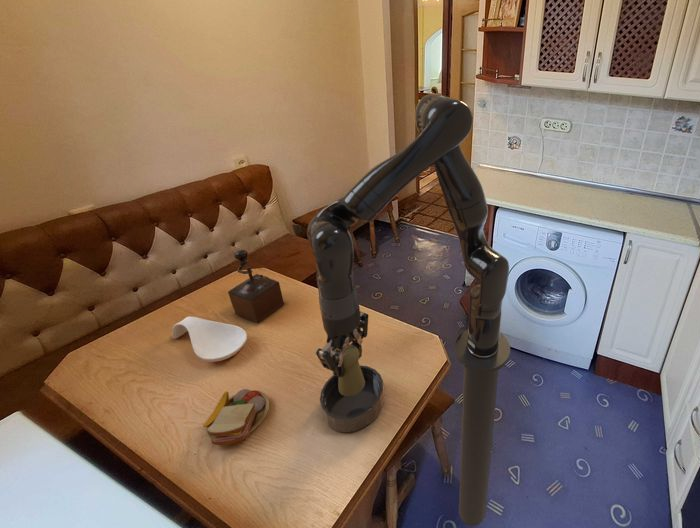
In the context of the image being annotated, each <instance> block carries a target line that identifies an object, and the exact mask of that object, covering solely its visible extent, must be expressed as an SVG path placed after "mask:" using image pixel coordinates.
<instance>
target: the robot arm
mask: <svg viewBox="0 0 700 528" xmlns="http://www.w3.org/2000/svg"><path fill="white" fill-rule="evenodd" d="M414 122H415V126H416V130H417V131H418V135H417V136H416V138H414V140H412V142H410V143H409V144H408V145H406V146H405V147H404V148H403V149H401V150H400V151H398V152H396V153H395V154H393V155H391V156H390V157H388V158H386V159H385V160H383V161H380V162H379V163H378V164H376V165H375V166H373V167H372V168H370V170H368V171H367V172H365V173H364V175H362V176H361V178H359V180H357V182H355V184H353V185H352V187H350V188H349V189H348V191H347V192H346V193H345V194H343V196H341V197H339V198H338V199H336V200H334V201H333V202H331V203H330V204H329V205H327V206H326V207H324V208H323V209H321V210H320V211H318V212H317V213H316V214H315V216H314V217H313V218H312V219H311V221H310V222H309V224H308V225H307V229H306V236H307V239H308V242H309V245H310V247H311V249H312V252H313V256H314V261H315V265H316V271H315V276H316V283H317V289H318V303H319V309H320V314H321V320H322V326H323V330H324V331H325V333H326V336H327V337H326V344H325V345H324V346H323V348H317V349H316V351H315V354H316V357H317V359H318V360H319V362H320V364H321V366H322V367H323V368H324V369H326V370H329V371H331V372H332V373H333V375H335V376H337V377H341V378H342V377H343V376H344V375H345V373H344V367H343V363H342V362H343V356H345V355H346V349H347V346H348V344H351V345H354V346H356V347H357V348H358V350H359V354H360V355H359V359H361V358H362V356H363V355H362V354H363V346H362V344H363V342H364V340H363V339H365V338H367V336H368V331H369V329H368V328H369V314H368V313H366V312H365V311H364V312H363V311H361V309H360V301H359V294H358V290H357V285H356V280H355V279H356V278H355V272H354V268H353V267H354V261H355V260H354V259H355V246H354V240H353V237H352V234H351V232H350V231H349V230H350V229H351V228H352V227H354V226H355V225H356V224H357V223H359V222H361V223H369V222H371V221H373V220H374V219H375V218H376V217H377V216H378V215H379V214H380V213H381V212H382V210H384V209H385V208H386V207H387V206H388V205H389V204H390V202H392V201H393V200H394V199H395V197H397V195H398V194H399V193H401V192H402V190H404V189H405V187H407V186H408V185H409V184H410V183H411V182H412V181H414V180H415V179H416V178H417V177H419V176H420V175H421V174H422V173H424V172H425V171H426V170H428V169H429V168H430V167H432V166H433V167H434V169H435V173H436V177H437V180H438V183H439V187H440V189H441V192H442V195H443V198H444V203H445V205H446V207H447V211H448V214H449V216H450V219H451V221H452V225H453V227H454V229H455V233H456V236H457V238H458V240H459V245H460V248H461V254H462V260H463V264H464V268H465V270H466V271H467V273H468V274H469V275H470V276H471V277H472V278H474V279H475V280H476V281H477V282H478V283H479V284H477V285H475V286H473V287H472V288H471V289H470V291H469V298H468V321H467V322H468V323H467V330H468V341H467V349H468V351H469V353H470V354H471V355H473V356H474V357H476V358H479V359H488V358H491V357H493V356H495V355H496V354H497V352H498V348H499V333H501V323H502V322H501V321H502V309H503V300H504V298H505V296H506V293H507V289H508V288H507V287H508V282H509V276H510V275H509V274H510V264H509V261H508V259H507V258H506V257H505V256H503V255H502V254H501V253H499V252H498V251H496V250H495V249H494V248H492V247H491V246H490V244H489V242H488V240H487V238H486V236H485V235H486V234H485V231H484V226H485V223H486V221H487V219H488V215H489V206H488V203H487V199H486V195H485V192H484V188H483V185H482V183H481V181H480V179H479V178H478V175H477V174H476V171H475V170H474V169H473V167H472V166H471V164H470V163H469V161H468V159H467V157H466V156H465V154H464V152H463V149H462V147H461V144H462V143H463V142H464V141H465V140H466V139H467V137H468V136H469V135H470V133H471V131H472V128H473V124H474V117H473V112H472V111H471V109H470V107H469V106H468V105H467V104H466V103H465V102H463V101H461V100H459V99H457V98H453V97H450V96H447V95H444V94H439V93H429V94H426V95H424V96H422V98H421V99H420V100H419V101H418V102H417V104H416V107H415V111H414ZM339 349H340V350H339ZM336 356H337V357H338V359H336Z"/></svg>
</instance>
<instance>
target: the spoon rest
mask: <svg viewBox="0 0 700 528" xmlns="http://www.w3.org/2000/svg"><path fill="white" fill-rule="evenodd" d="M187 332H188V336H189V339H190V342H191V343H190V344H191V346H192V350H193V352H194V353H195V355H196V356H197V357H198V358H199V359H200V360H202V361H204V362H213V363H215V362H216V363H217V362H221V361H224V360H225V361H226V360H227V359H229V358H231V357H233V356H234V355H236V354H237V353H238V352H239V351H240V350H241V349H242V348H243V347H244V345H245V344H246V342H247V340H248V333H247V331H245V329H244V328H242V327H240V326H237V325H235V324H230V323H226V322H220V321H216V320H215V321H214V320H211V319H210V320H209V319H205V318H200V317H196V316H186V317H185V318H184V319H182V320H181V321H178V322H177V323H175V324H174V325H173V327H172V330H171V335H172V339H179V338H180V337H181V336H183V335H185V334H186V333H187Z"/></svg>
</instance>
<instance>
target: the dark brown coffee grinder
mask: <svg viewBox="0 0 700 528" xmlns="http://www.w3.org/2000/svg"><path fill="white" fill-rule="evenodd" d="M248 255H249V254H248V251H247V250H246V249H238V250H237V251H236V252H235V253H234V254H233V257H234V259H236V260H237V261H239V266H238V267H237V269H236V270H237V273H239V274H244V275H248V277H249V278H248V279H246V280H244V281H242V282H241V283H239V284H237V285H236V286H234V287H233V288H231V289H229V290H228V291H227V294H228V296H229V300H230V303H231V306H232V309H233V311H234V314H235V315H236V316H237V317H238V318H241V319H244V320H246V321H249V322H252V323H254V324H256V325H259V324H260V323H261V322H263V321H265V320H266V319H268V318H269V317H270V316H272V314H274V313H276V312H277V311H279V309H281V308H282V307H283V306H284V305H285V301H284V298H283V293H282V290H281V289H282V288H281V285H280V282H279V281H278V280H275V279H273V278H270V277H268V276H265V275H263V274H258V273H256V274H254V275H253V270H252V267H251V266H247V267H246V268H245V269H246V270H242V269H243V268H244V266H246V265H247V264H248V263H249V262H250V260H249V259H248Z"/></svg>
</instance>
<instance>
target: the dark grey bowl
mask: <svg viewBox="0 0 700 528" xmlns="http://www.w3.org/2000/svg"><path fill="white" fill-rule="evenodd" d="M359 365H360V368H361V371H362V374H363V376H364V379H365V386H364V388H363V389H362V390H361V392H359V393H358V394H356V395H354V396H349V397H348V396H343V395H341V394H340V392H339V389H338V377H337V376H335V375H334V374H333V375H331V376H330V377H329V379H328V380H327V381H325V383H324V385H323V387H322V389H321V391H320V395H319V403H320V407H321V413H322V416H323V421H324V422H325V424H326V425H327V426H328V427H329V428H331V429H333V430H334V431H336V432H341V433H353V432H357V431H359V430H362V429H363V428H365V427H367V426H368V425H370V424H372V422H374V420H375V419H377V417H378V416H379V414H380V413H381V412H382V410H383V407H384V404H385V387H384V386H385V385H384V380H383V378H382V376H381V374H380V372H378V371H377V370H376V369H375V368H373V367H370V366H368V365H361V364H359Z"/></svg>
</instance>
